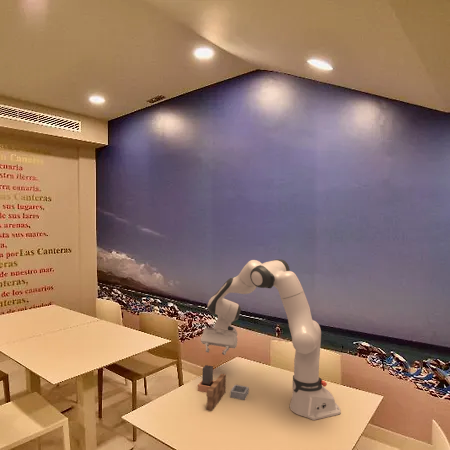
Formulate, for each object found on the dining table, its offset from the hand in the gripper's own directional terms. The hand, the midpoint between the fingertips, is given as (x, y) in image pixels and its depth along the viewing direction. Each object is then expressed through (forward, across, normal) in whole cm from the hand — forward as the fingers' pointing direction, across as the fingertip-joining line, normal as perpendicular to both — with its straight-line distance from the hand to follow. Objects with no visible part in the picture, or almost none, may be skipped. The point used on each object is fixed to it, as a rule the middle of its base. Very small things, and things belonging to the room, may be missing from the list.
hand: (215, 353), depth 186 cm
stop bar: (+18, 0, +3) cm, 18 cm away
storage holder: (+18, +17, +3) cm, 25 cm away
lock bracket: (+18, 0, +3) cm, 18 cm away
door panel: (+24, +9, -4) cm, 26 cm away
